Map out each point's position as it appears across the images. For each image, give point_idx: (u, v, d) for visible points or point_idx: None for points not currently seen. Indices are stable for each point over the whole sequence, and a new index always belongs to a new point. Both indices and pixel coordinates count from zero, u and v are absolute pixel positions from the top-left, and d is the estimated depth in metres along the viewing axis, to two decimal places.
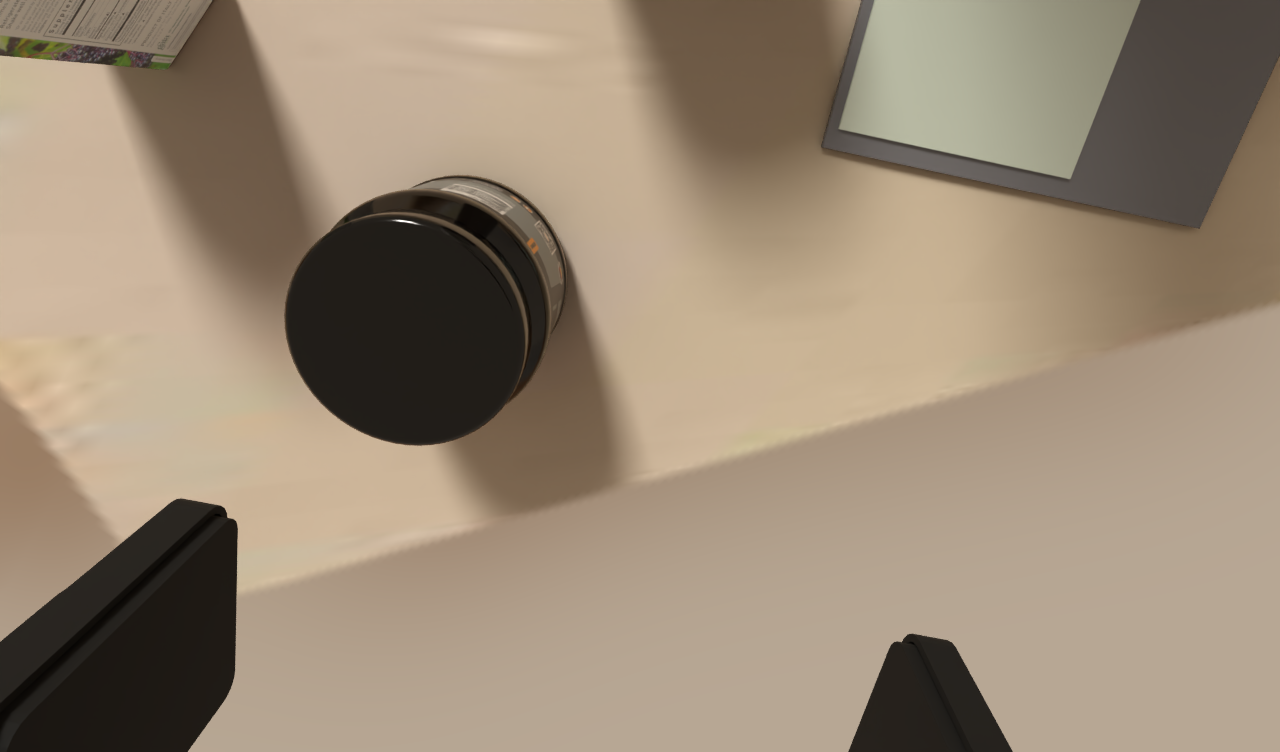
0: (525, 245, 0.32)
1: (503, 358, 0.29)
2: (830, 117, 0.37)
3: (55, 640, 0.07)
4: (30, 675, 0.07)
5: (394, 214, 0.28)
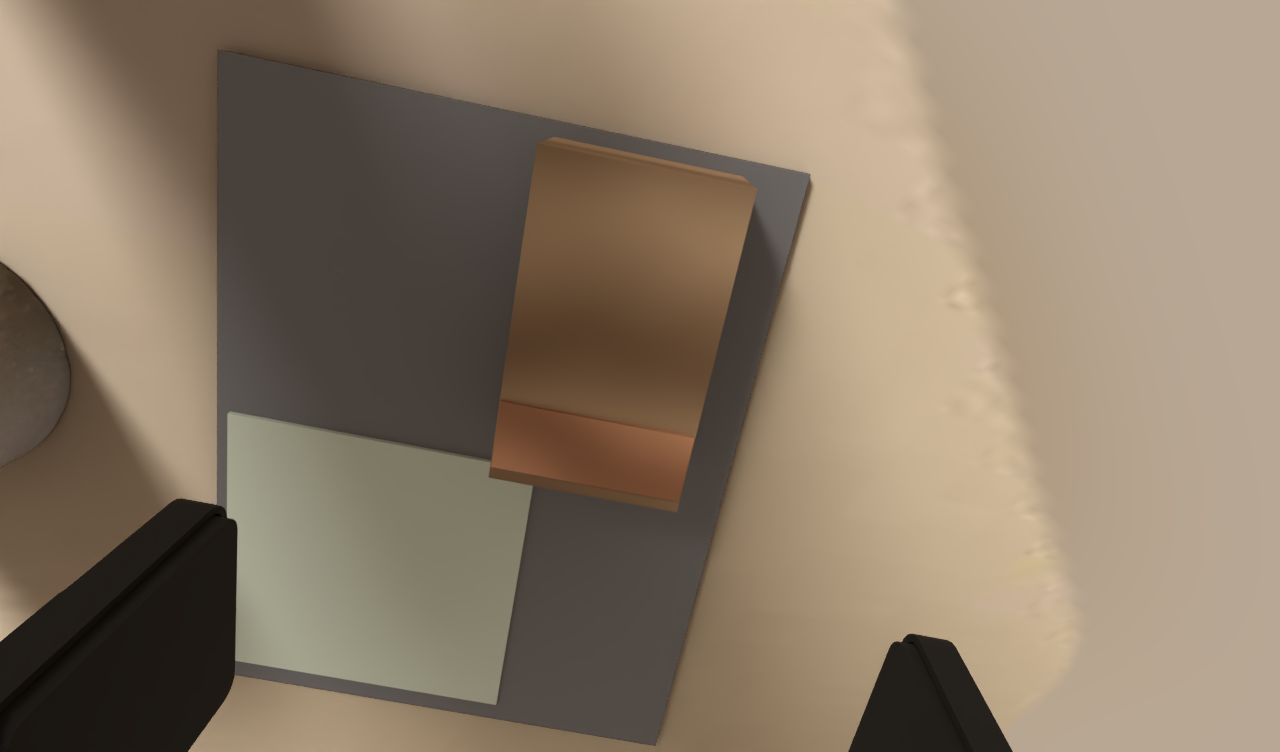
0: None
1: None
2: None
3: (55, 640, 0.07)
4: (31, 675, 0.07)
5: None
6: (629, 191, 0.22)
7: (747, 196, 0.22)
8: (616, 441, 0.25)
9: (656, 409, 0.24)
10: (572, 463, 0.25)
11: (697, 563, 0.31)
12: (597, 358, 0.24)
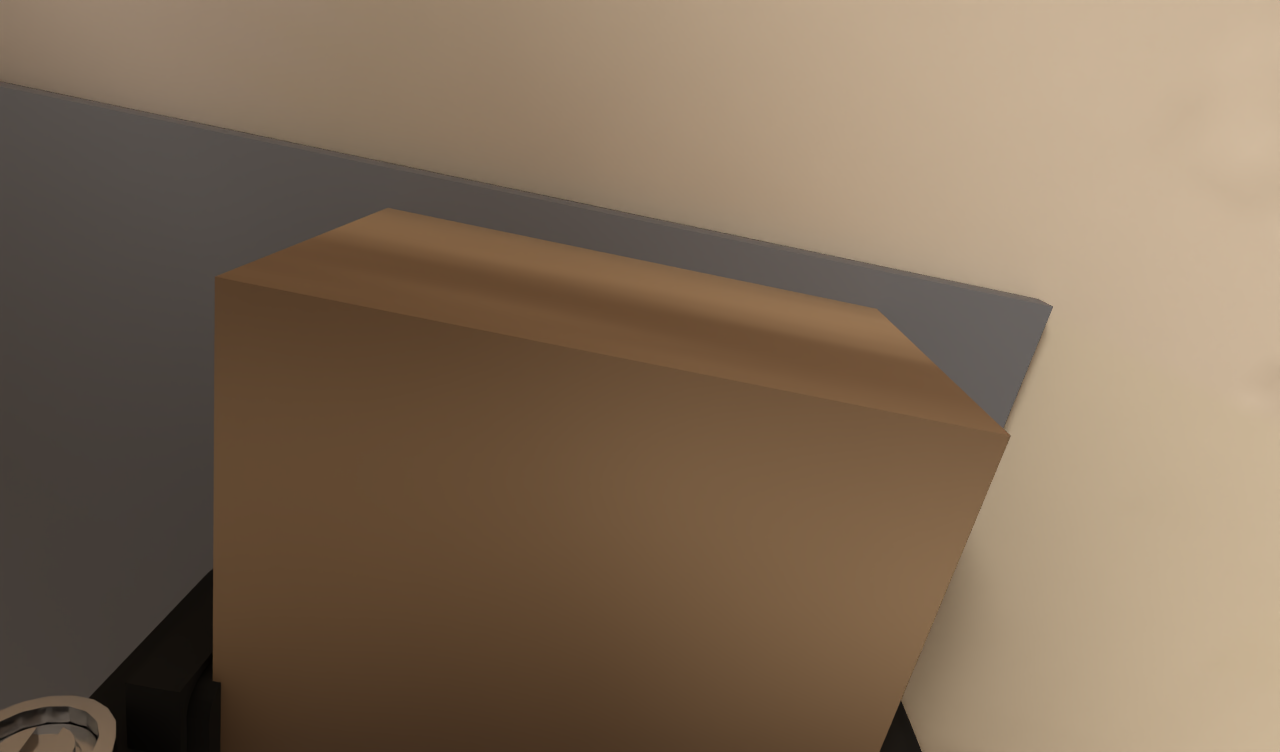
0: None
1: None
2: None
3: None
4: None
5: None
6: (559, 439, 0.06)
7: (972, 457, 0.06)
8: None
9: None
10: None
11: None
12: None
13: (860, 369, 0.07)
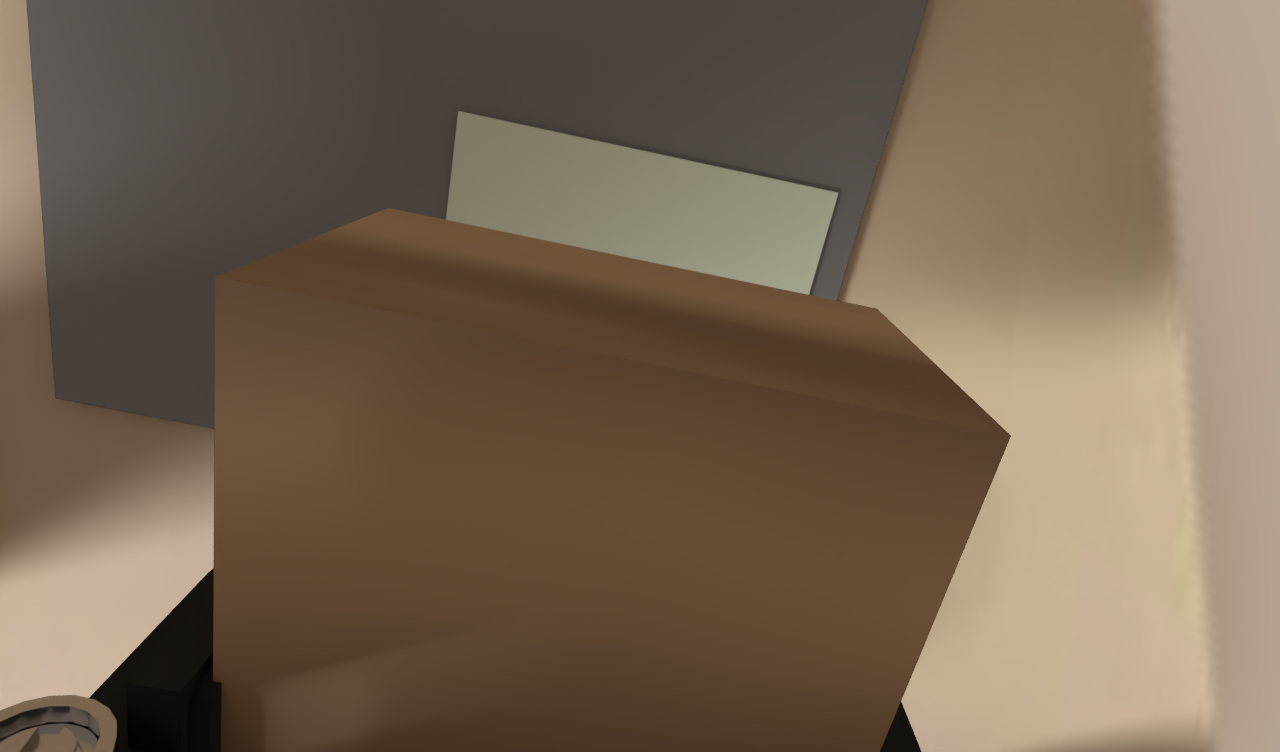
0: None
1: None
2: None
3: None
4: None
5: None
6: (560, 439, 0.06)
7: (973, 457, 0.06)
8: None
9: None
10: None
11: None
12: None
13: (861, 369, 0.07)
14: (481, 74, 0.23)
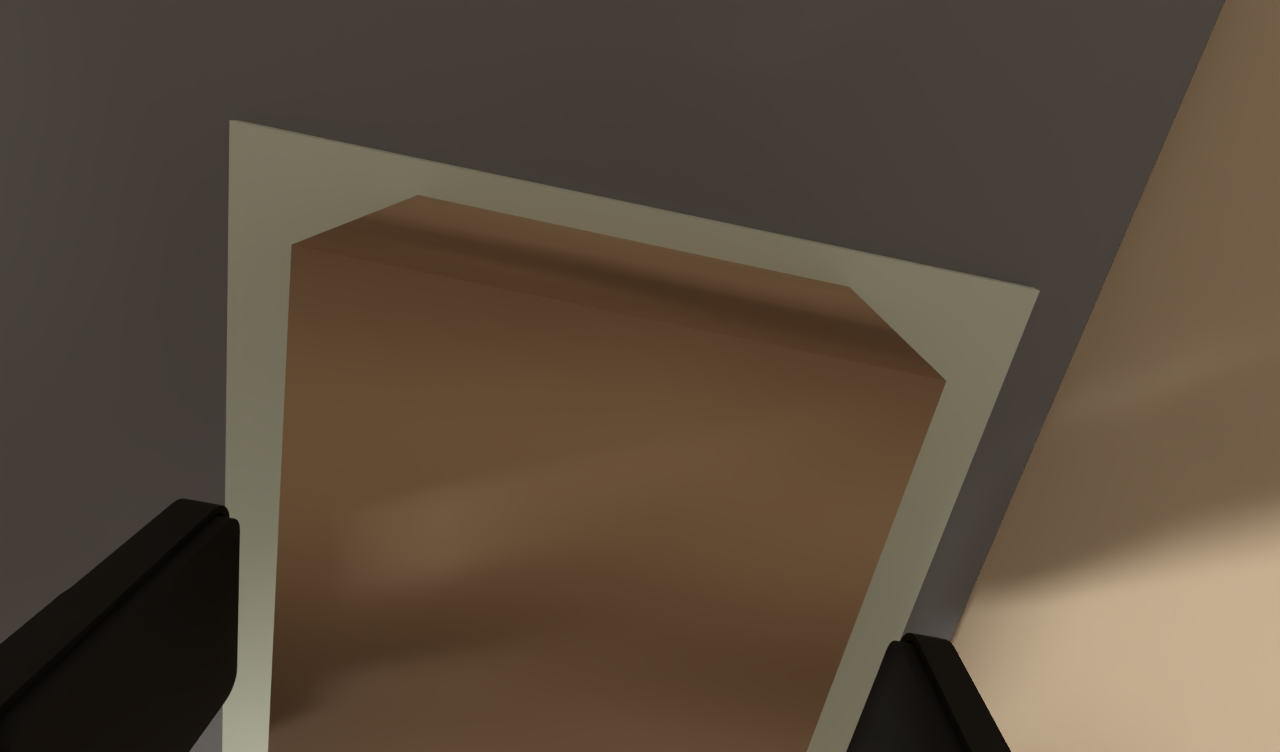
0: None
1: None
2: None
3: (59, 639, 0.07)
4: (35, 674, 0.07)
5: None
6: (574, 381, 0.08)
7: (915, 399, 0.08)
8: None
9: None
10: None
11: None
12: None
13: (826, 330, 0.08)
14: (276, 40, 0.10)
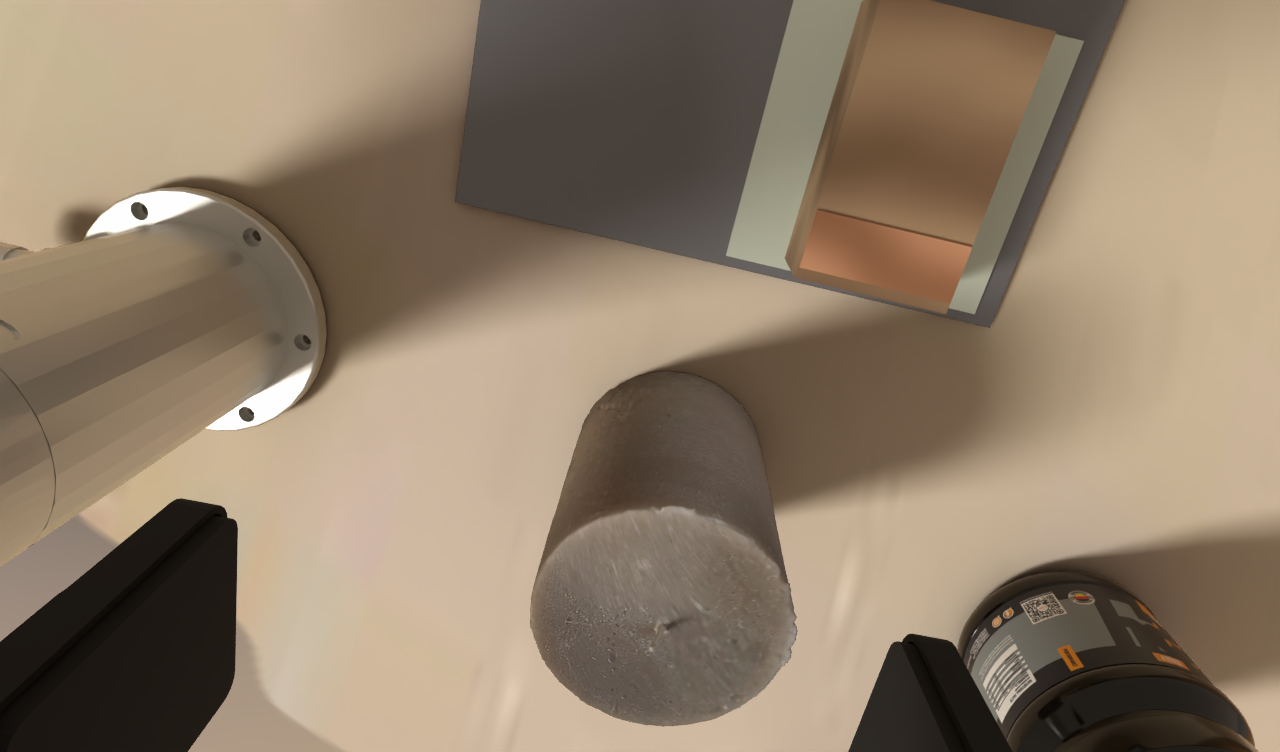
0: (1080, 684, 0.33)
1: None
2: (959, 319, 0.36)
3: (55, 640, 0.07)
4: (30, 675, 0.07)
5: None
6: (952, 31, 0.28)
7: (1047, 37, 0.27)
8: (907, 248, 0.30)
9: (943, 221, 0.30)
10: (867, 266, 0.31)
11: None
12: (902, 175, 0.29)
13: None
14: None
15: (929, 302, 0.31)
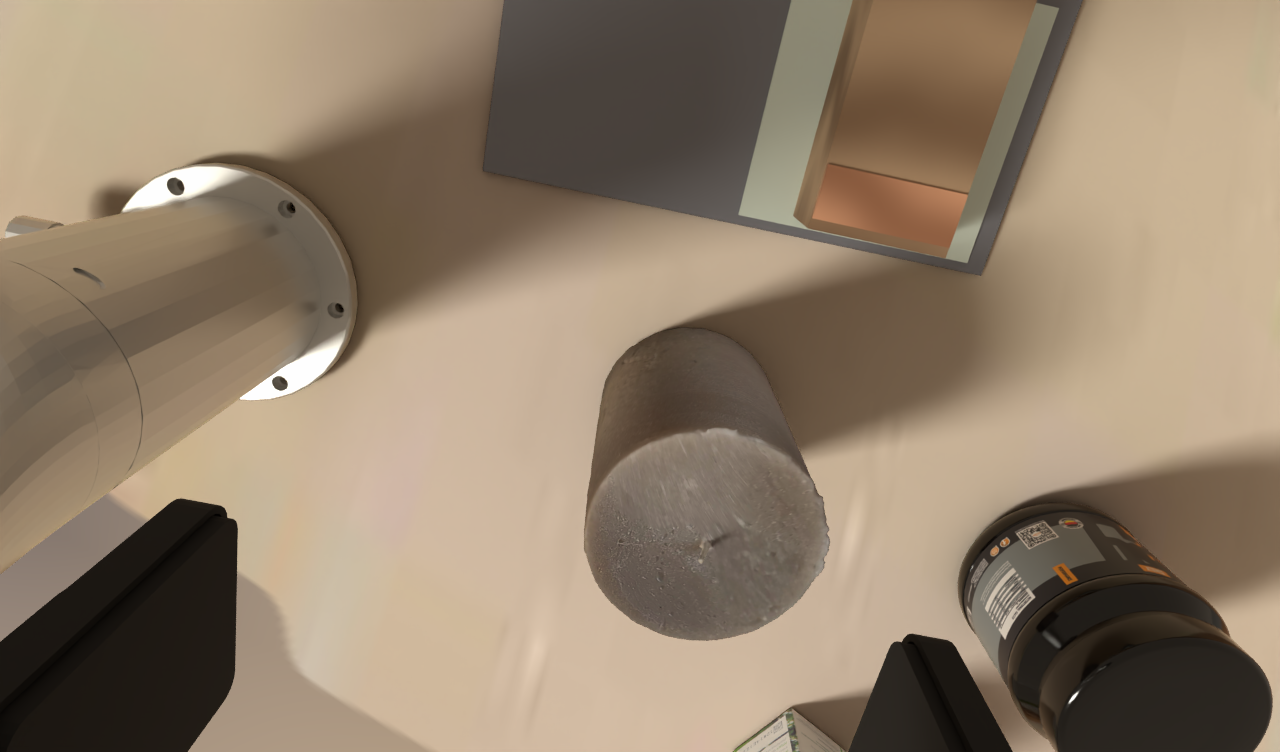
0: (1075, 595, 0.36)
1: (1206, 657, 0.33)
2: (953, 269, 0.39)
3: (55, 640, 0.07)
4: (31, 675, 0.07)
5: (1057, 718, 0.34)
6: None
7: (1030, 1, 0.31)
8: (909, 197, 0.33)
9: (941, 171, 0.33)
10: (874, 215, 0.33)
11: None
12: (904, 130, 0.32)
13: None
14: None
15: (930, 247, 0.34)
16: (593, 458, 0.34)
